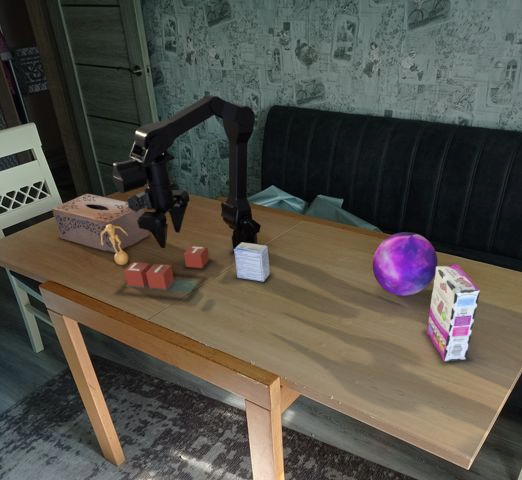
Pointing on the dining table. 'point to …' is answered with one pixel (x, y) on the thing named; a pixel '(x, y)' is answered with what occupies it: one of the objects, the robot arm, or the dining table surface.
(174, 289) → the word mat
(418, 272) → the decorative orb
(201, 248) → the letter T
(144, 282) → the letter L
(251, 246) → the medicine box
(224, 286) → the dining table surface
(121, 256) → the figurine
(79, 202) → the tissue box cover
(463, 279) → the candy bar box
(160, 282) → the red box-shaped block
